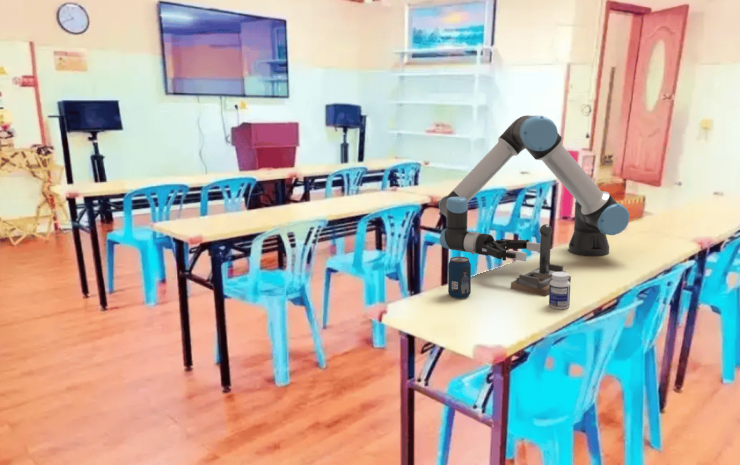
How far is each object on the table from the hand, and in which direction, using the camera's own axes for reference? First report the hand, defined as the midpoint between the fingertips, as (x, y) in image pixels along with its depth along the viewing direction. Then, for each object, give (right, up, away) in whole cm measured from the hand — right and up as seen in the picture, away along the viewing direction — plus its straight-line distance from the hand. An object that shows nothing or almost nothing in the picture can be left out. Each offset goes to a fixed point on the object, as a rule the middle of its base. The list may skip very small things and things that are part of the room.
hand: (535, 252), depth 183 cm
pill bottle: (+1, -15, -20) cm, 25 cm away
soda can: (-27, -13, -9) cm, 31 cm away
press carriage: (+3, -8, 0) cm, 9 cm away
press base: (+1, -11, -1) cm, 11 cm away
